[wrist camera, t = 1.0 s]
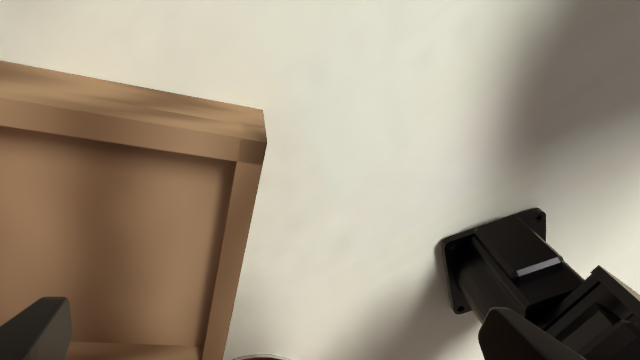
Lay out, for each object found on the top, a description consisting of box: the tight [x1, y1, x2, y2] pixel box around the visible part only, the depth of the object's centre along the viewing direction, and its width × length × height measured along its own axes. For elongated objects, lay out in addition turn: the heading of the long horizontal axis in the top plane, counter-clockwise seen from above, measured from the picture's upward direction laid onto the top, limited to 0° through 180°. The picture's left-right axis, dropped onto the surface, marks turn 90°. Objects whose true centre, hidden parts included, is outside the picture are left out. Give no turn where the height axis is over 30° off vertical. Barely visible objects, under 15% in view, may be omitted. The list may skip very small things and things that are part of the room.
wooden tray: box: [0, 61, 267, 360], centre depth 19 cm, size 13×17×4 cm
